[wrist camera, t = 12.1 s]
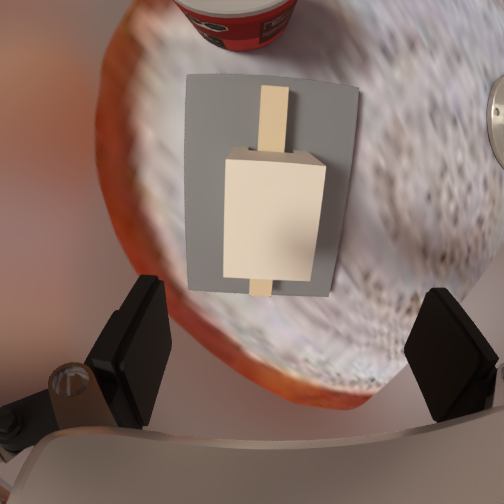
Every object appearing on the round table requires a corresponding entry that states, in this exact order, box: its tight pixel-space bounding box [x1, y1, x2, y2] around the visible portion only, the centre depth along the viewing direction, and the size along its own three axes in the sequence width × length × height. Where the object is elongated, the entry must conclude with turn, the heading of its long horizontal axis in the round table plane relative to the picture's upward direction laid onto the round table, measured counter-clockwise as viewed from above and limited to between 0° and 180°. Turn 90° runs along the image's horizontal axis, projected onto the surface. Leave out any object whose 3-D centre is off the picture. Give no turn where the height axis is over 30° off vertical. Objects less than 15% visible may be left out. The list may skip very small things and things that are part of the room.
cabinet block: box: [223, 146, 326, 281], centre depth 23 cm, size 6×9×7 cm
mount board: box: [184, 74, 359, 297], centre depth 25 cm, size 14×20×3 cm
